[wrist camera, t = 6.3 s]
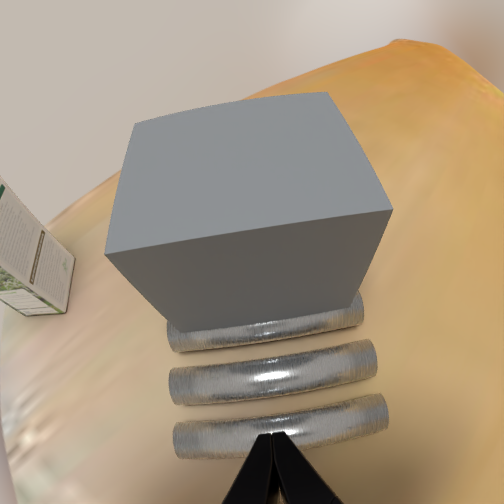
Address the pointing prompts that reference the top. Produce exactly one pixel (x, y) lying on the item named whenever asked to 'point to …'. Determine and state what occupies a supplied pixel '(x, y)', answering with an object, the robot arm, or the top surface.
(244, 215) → the grey block
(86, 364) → the top surface
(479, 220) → the top surface
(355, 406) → the roller track
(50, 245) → the syrup box
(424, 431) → the top surface
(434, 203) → the top surface
